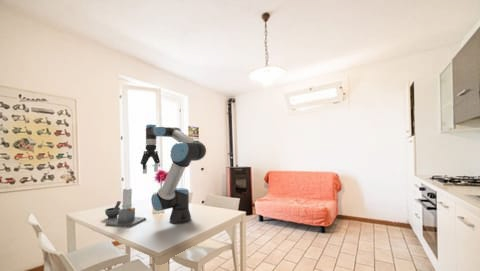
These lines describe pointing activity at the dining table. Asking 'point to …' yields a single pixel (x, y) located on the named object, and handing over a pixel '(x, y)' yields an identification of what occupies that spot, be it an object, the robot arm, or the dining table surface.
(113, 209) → the mortar and pestle
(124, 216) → the stand
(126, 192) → the column
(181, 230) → the dining table surface
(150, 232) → the dining table surface
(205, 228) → the dining table surface
